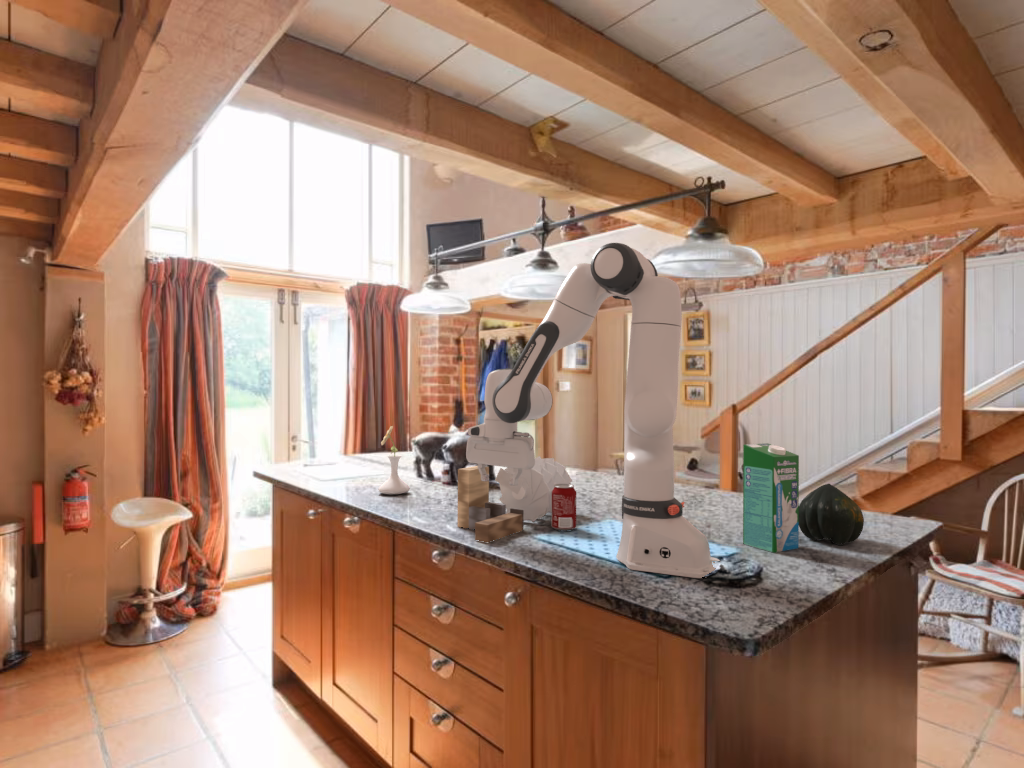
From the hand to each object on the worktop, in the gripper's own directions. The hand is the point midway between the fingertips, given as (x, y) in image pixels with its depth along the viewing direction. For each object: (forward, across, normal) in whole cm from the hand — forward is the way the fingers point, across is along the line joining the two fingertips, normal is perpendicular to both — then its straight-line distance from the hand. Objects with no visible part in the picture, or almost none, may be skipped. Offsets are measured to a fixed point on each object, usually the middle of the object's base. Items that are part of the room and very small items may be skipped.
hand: (499, 483), depth 154 cm
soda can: (+14, -11, -16) cm, 24 cm away
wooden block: (+14, -1, 0) cm, 14 cm away
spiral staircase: (+14, +4, -25) cm, 29 cm away
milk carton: (+13, -61, -31) cm, 69 cm away
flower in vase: (+15, +65, -25) cm, 72 cm away
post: (+14, +9, -5) cm, 17 cm away
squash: (+12, -72, -46) cm, 86 cm away
